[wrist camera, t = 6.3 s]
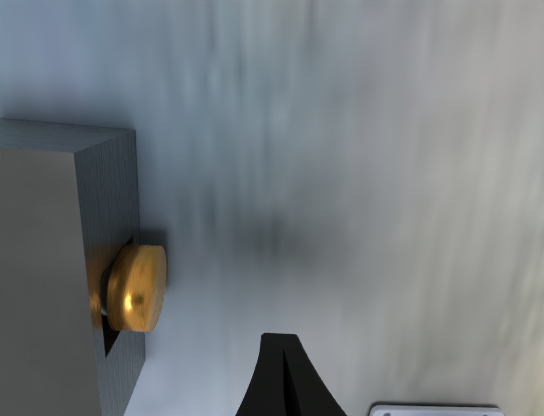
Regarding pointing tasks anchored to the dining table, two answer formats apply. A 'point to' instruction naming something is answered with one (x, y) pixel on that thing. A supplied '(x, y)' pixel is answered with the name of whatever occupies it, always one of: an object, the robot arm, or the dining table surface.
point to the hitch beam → (64, 268)
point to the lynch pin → (134, 288)
